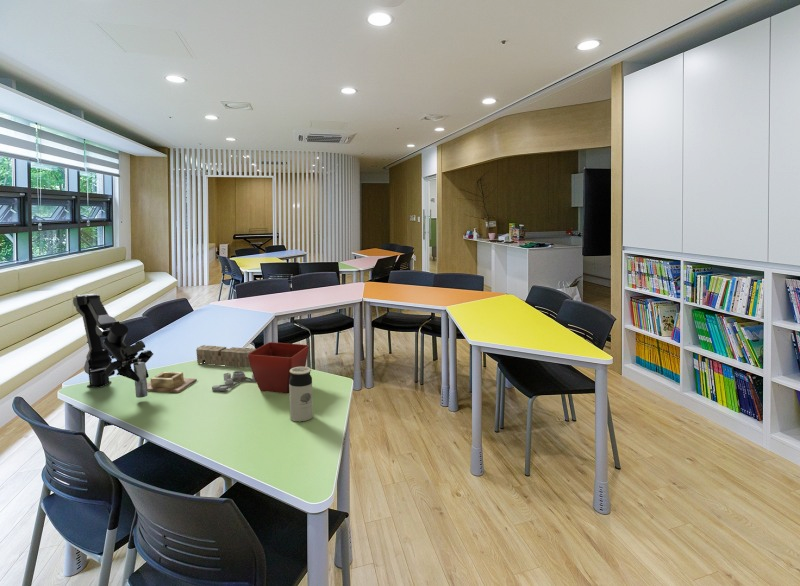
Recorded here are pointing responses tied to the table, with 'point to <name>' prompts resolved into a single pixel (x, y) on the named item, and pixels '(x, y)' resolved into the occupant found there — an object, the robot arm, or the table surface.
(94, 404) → the table surface
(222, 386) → the pulley system
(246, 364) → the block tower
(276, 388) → the plant pot
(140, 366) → the metal pin
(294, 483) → the table surface
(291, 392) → the travel mug
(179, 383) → the socket board
